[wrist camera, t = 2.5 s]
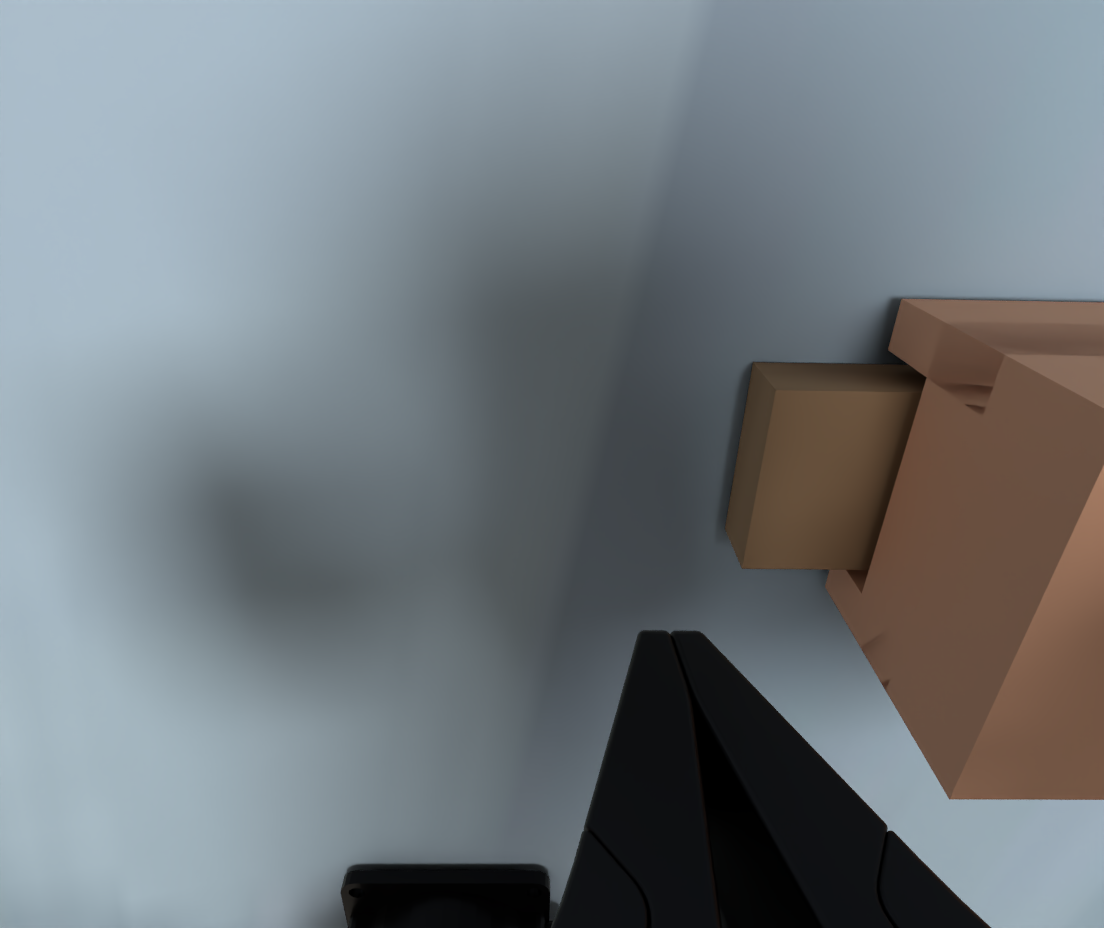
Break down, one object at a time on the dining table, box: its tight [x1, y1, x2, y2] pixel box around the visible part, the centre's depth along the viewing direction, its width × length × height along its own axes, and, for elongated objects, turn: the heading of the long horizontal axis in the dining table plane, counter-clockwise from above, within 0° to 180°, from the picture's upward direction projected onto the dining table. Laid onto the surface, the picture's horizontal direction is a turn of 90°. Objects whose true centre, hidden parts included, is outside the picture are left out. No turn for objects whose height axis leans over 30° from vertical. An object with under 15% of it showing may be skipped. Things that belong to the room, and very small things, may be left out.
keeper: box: [825, 299, 1104, 800], centre depth 12 cm, size 5×7×6 cm
